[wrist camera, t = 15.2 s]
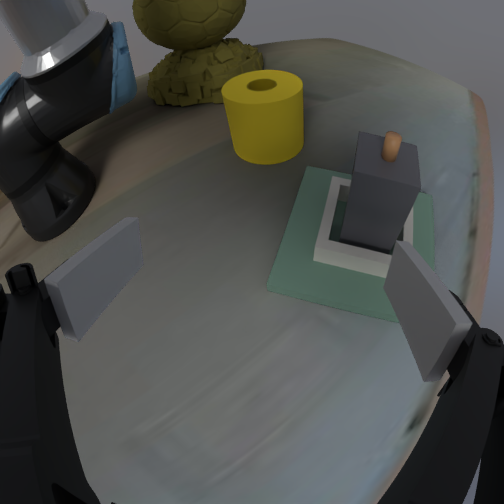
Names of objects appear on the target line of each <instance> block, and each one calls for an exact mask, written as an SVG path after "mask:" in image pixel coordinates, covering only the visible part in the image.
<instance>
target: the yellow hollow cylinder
mask: <svg viewBox="0 0 504 504" xmlns="http://www.w3.org/2000/svg"><path fill="white" fill-rule="evenodd" d="M221 92H222V97H223V101H224V106H225V110H226V115H227V119H228V123H229V128H230V132H231V137H232V141H233V146H234V150H235V152H236V154H237V155H238V156H239V157H240V158H242V159H243V160H245V161H248V162H250V163H254V164H262V165H268V164H277V163H281V162H284V161H287V160H289V159H291V158H293V157H295V156H296V155H297V154H298V153H299V152H300V151H301V149H302V148H303V144H304V118H303V83H302V81H301V79H300V78H299V77H297V76H296V75H294V74H291V73H289V72H285V71H279V70H258V71H252V72H247V73H244V74H241V75H238V76H236V77H234V78H232V79H230V80H229V81H227V82H226V83H225V84H224V85H223V87H222V89H221Z"/></svg>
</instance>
